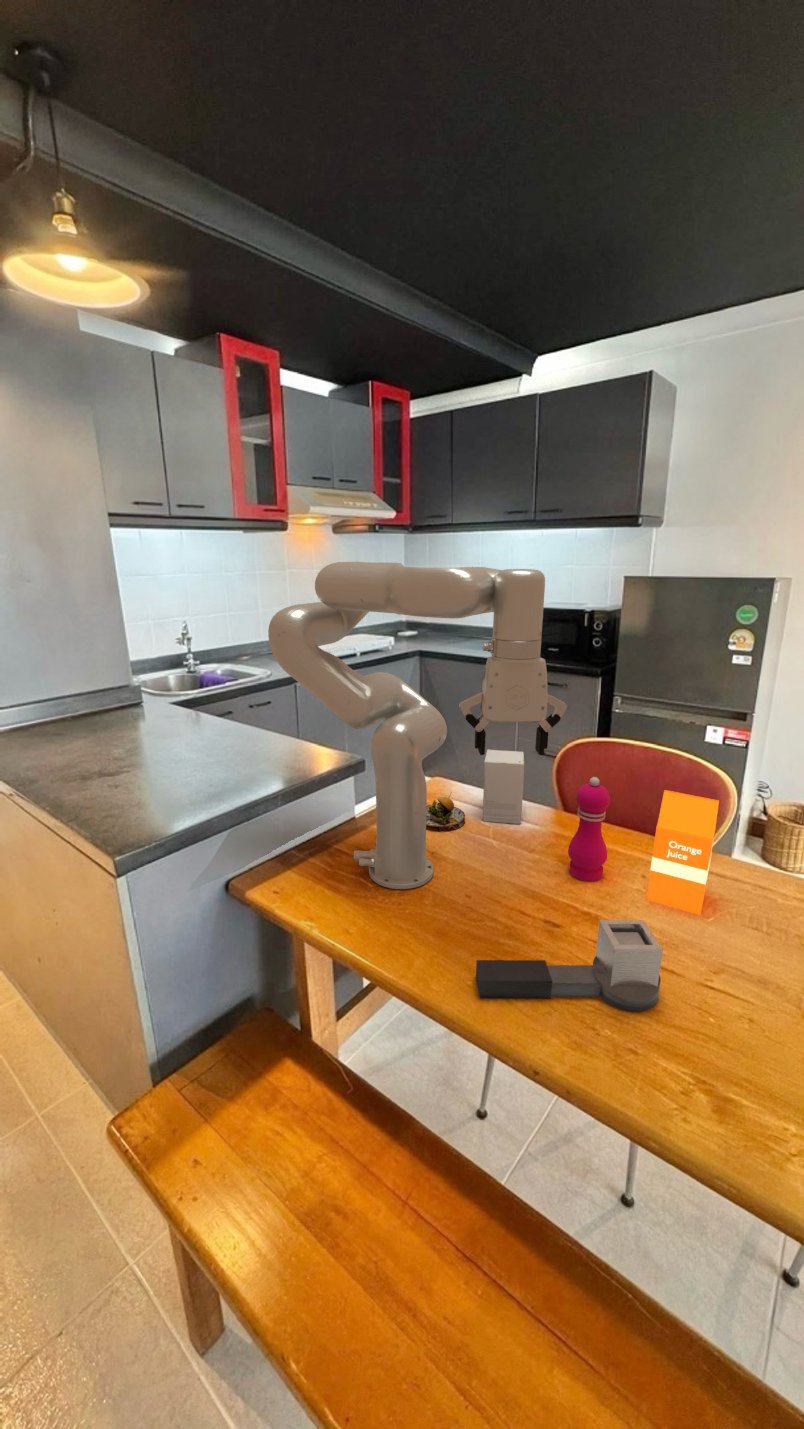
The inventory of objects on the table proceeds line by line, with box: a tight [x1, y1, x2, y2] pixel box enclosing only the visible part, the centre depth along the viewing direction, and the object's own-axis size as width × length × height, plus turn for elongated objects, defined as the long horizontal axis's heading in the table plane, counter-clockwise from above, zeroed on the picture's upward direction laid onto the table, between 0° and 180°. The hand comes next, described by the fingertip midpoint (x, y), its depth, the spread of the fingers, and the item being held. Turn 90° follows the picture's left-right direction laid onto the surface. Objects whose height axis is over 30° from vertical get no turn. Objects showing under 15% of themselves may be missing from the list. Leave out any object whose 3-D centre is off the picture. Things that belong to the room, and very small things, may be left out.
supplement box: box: [482, 749, 525, 825], centre depth 136 cm, size 9×9×15 cm
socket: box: [595, 919, 664, 987], centre depth 81 cm, size 6×6×6 cm
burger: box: [426, 793, 466, 833], centre depth 134 cm, size 12×12×8 cm
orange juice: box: [646, 789, 720, 916], centre depth 102 cm, size 8×9×20 cm
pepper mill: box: [567, 776, 611, 882], centre depth 110 cm, size 7×7×20 cm
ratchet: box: [475, 932, 661, 1013], centre depth 82 cm, size 26×9×8 cm, turn 90°
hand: (510, 752), depth 95 cm, fingers open, 9 cm apart
